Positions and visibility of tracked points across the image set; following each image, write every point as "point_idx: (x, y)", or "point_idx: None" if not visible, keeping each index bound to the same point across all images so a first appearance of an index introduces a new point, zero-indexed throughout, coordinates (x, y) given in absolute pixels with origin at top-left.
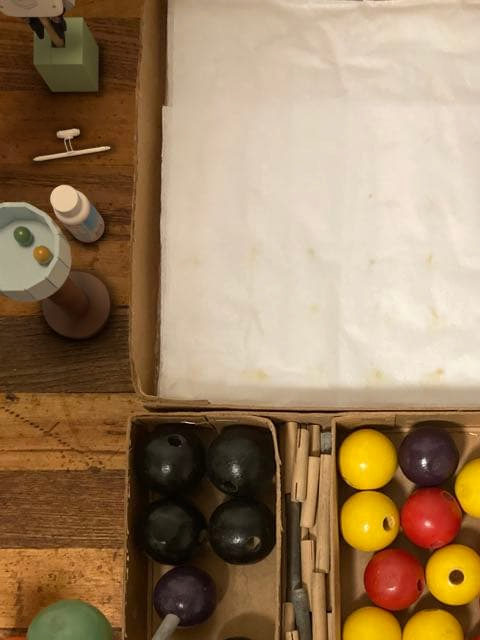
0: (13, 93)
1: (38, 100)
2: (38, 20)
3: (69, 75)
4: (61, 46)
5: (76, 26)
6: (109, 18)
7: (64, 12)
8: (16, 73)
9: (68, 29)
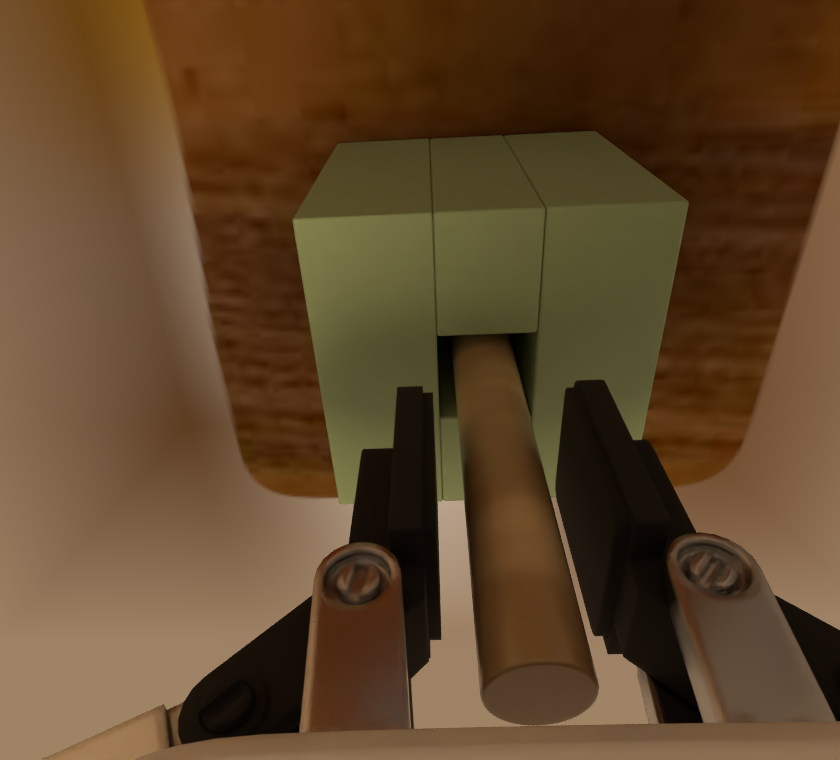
0: (816, 111)
1: (681, 71)
2: (584, 528)
3: (446, 174)
4: (469, 344)
5: None
6: None
7: (206, 684)
8: (768, 228)
9: None
